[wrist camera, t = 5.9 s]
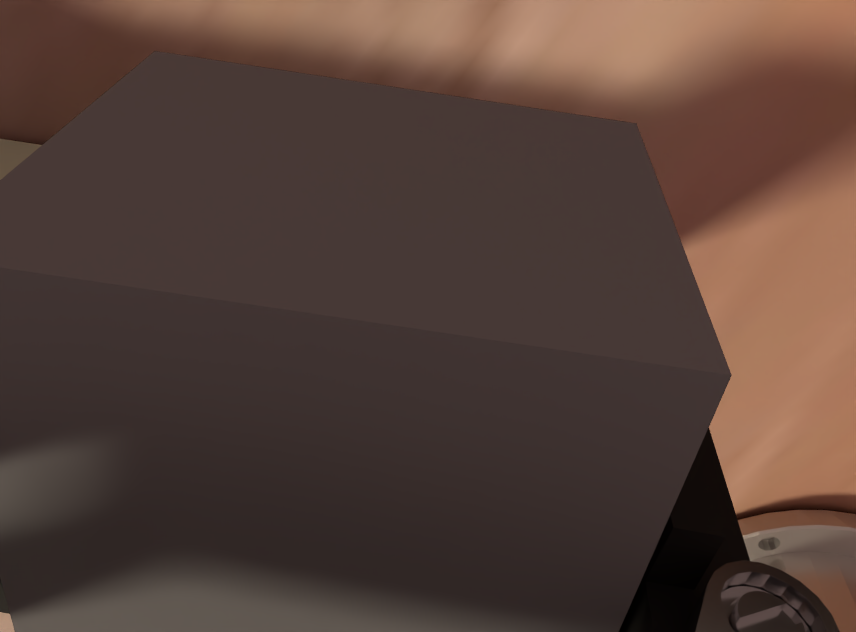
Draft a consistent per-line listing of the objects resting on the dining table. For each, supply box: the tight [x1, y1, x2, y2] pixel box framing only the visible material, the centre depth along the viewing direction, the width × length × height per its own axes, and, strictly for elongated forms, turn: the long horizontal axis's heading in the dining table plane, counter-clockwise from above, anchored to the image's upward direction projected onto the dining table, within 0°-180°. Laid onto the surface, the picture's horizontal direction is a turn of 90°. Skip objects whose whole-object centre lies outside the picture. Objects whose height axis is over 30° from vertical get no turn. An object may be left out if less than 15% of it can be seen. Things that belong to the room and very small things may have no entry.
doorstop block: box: [0, 51, 731, 632], centre depth 10 cm, size 6×7×5 cm
